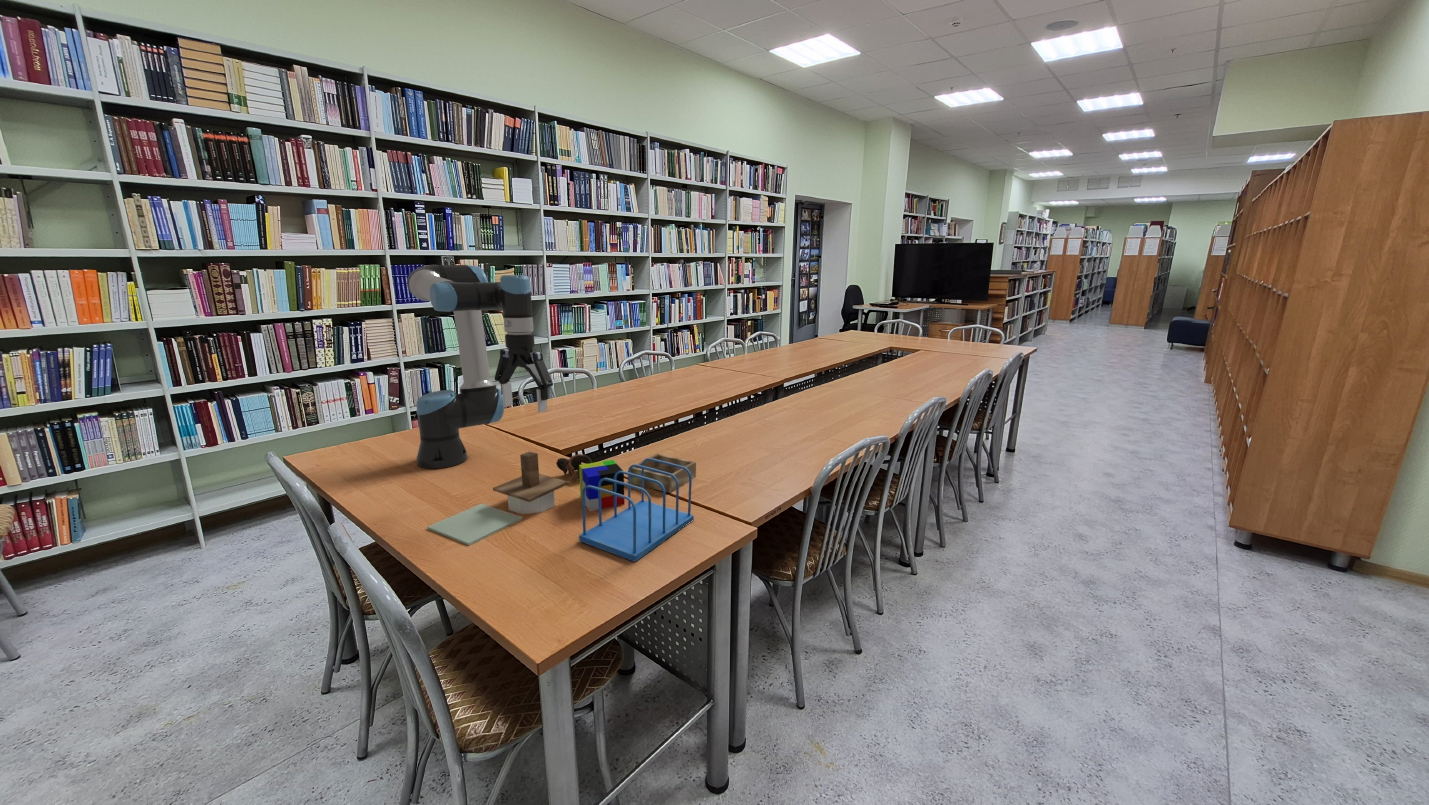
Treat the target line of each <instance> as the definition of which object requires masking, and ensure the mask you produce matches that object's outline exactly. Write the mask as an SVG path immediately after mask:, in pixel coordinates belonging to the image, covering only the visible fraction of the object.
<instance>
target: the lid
mask: <svg viewBox="0 0 1429 805" xmlns="http://www.w3.org/2000/svg"><path fill="white" fill-rule="evenodd" d="M520 470H521V476H518V477H516V478H513V479H511V480H509V481H506V482H504V483H501V484H499V485H497V486H494V487H492V491H493V492H496V493H499V494H503V495H506V496H507V497H508V496H512V497H515V498H518V499H521V500H524V501H527V502H531V501H533V500H535V499H537V498H540V497H542V496H544V495H546V494H548V493H550V492H552V491H554V492H555V491H556V490H559V489H561V488H563V487H565V486H567V485H569V482H568V481H567V480H564V479H561V478H556V477H553V476H550V475H546V474H542V473H540V471H539V470H540V467H539V455H538V453H537V452H534V451H527V452H525V453H521V454H520Z"/></svg>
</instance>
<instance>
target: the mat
mask: <svg viewBox="0 0 1429 805" xmlns="http://www.w3.org/2000/svg"><path fill="white" fill-rule="evenodd" d="M519 521H523V517H522V516H521V515H520V516H519V515H516V514H513V513H512V512H508V511H506V510H505V511H504V510H502V509H498V508H496V507H493V506H491V505H487V504H485V503H480V504H477V505H474V506H473V507H470V508H468V509H466V510H463V511H461V512H458V513H456V514H454V515H451V516H449V517H447V518H445V519H442V520H440V521H438V522H434V523H433V524H431V525H428V526H427V527H426V528H427V530H429V531H432V532H434V533H437V534H439V535H442V536H445V537H446V538H450V539H452V540H454V541H457V542H460V543H461V544H464V545H467V546H471V545H473V544H475V543H477V542H480V541H481V540H484V539H486V538H487V537H489V536H491V535H493V534H495V533H498V532H500V531H502V530H504V529H505V528H507V527H510V526H512V525H514V524H516V523H518V522H519Z"/></svg>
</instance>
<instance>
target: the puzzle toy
mask: <svg viewBox="0 0 1429 805" xmlns="http://www.w3.org/2000/svg"><path fill="white" fill-rule="evenodd" d="M581 464H582V465H579V475H580V479H579V496H580V499H581V500H582V491H583V489H584V487H586V486H589V485H591V486H595V487H598V484H599V481H600V480H601V479H603V478H609V479H613V480H614V476H615V474H616V473H617V472H618V471H624V470H623V469H622V468H621V467H620V466H619V464H618V463H617V462H616V461H615V460H614V459H611V460H604V461H596V462H592V463H589V462H588V463H581ZM616 480H617V481H620V482H624V483H625V474H622V473H619V474H618V475H617V478H616ZM616 487H617V489H616V493H618V494H621V495H624V496H625V486H624V485H621V484H617V483H616ZM601 488H602V489H605V490H608V491H612V492H614V482H610V481H606V480H604V481H602V483H601ZM616 497H617V506H624V505H625V504H626V503H625V502H626V501H625V499H624V498H621V497H618V496H616ZM585 507H586V508H587V510H588V511H589V512H591V511H597V510H599V503H598V490H595V489H592V488H587V489H586V490H585ZM606 508H614V495H612V494H609V493H605V492H602V491H601V510H602V509H606Z"/></svg>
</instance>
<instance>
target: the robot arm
mask: <svg viewBox="0 0 1429 805" xmlns="http://www.w3.org/2000/svg"><path fill="white" fill-rule="evenodd" d="M406 285H407V286H406V287H407V289H408V291H409V293H410V294H411V295H412V296H413V297H415V298H416V299H417V300H421V301H423V302H430V305H431V306H432V308H433V309H434V311H437V312H447V313H450V312H452V313H453V316H454V322H455V323H454V325H455V331H456V338H457V344H458V352H459V353H458V354H459V358H460V365H461V373H462V381H463V382H462V384H461V386H460V387H459V393H456V392H455V391H454V390H453V389H445V390H444V389H443V390H442V389H441V390H437V391H431V392H428V393H425V394H423V395H422V396H420V397H419V398H418V399H417V400H416V414H417V420H418V430H419V438H420V443H419V447H418V451H417V455H416V464H417V466H419V467H420V468H423V469H428V470H429V469H431V470H432V469H433V470H435V469H445V468H450V467H454V466H458V465H460V464H462V463H464V462H465V461H466V460H468V452H467V450H466V448H465V445H464V443H463V441H462V440H461V437H460V429H463V428H470V427H477V426H482V425H489V424H493V423H497V422H499V421H501V420H502V418H503V416H504V413H505V408H507V407H510V406H514V402H513V401H514V400H513V399H514V398H513V391H512V390H513V389H512V383H511V378H512V377H513V375H514V373H515V371H516V370H517V368H519V367H520V368H521V369H522V368H524V369H525V370H526V371H527V372H528V373H529V375H530V376H531V378H532V379H533V381H534V383H535V385H536V386H537V388H536V402H537V413H544V412H546V411H548V400H549V394H548V392H549V391H548V388H550V387H552V386H554V383H553V380H552V377H551V374H550V373H549V370H548V368H547V366H546V363H545V361H544V356H543V352H542V351H535V352H534V350H533V348H534V347H535V334H533V332H534V318H533V307H532V306H533V305H532V303H533V302H532V286H531V282H530V278H529V276H527V275H526V274H524V275H522V274H520V275H518V274H515V275H514V274H512V275H511V274H510V275H507V274H505V275H501V276H500V277H499V281H494V282H493V281H491V282H489V281H488V278H487V275H486V273H485V272H484V269H482V268H481V267H479V266H478V265H477V266H476V265H471V264H470V265H469V264H427V265H424V266H420V267H418V268H416V269H414V270H412V271H411V272H410V274H409V275H408V277H407V280H406ZM496 310H497V311H498V310H500V311H501V310H502V317H503V326H504V327H503V328H504V332H505V333H506V334H505V335H504V341H505V342H504V343H505V348H504V349H500V350H499V360H498V364H497V368H496V371H495V375H494V381H495V382H498V383H499V384H500V388H497V384H496V383H495V382H494V381H492V379H491V373H490V367H489V366H490V365H489V357H488V351H487V344H486V343H487V342H486V337H485V335H486V334H485V328H484V322H483V314H482V311H496Z"/></svg>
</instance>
